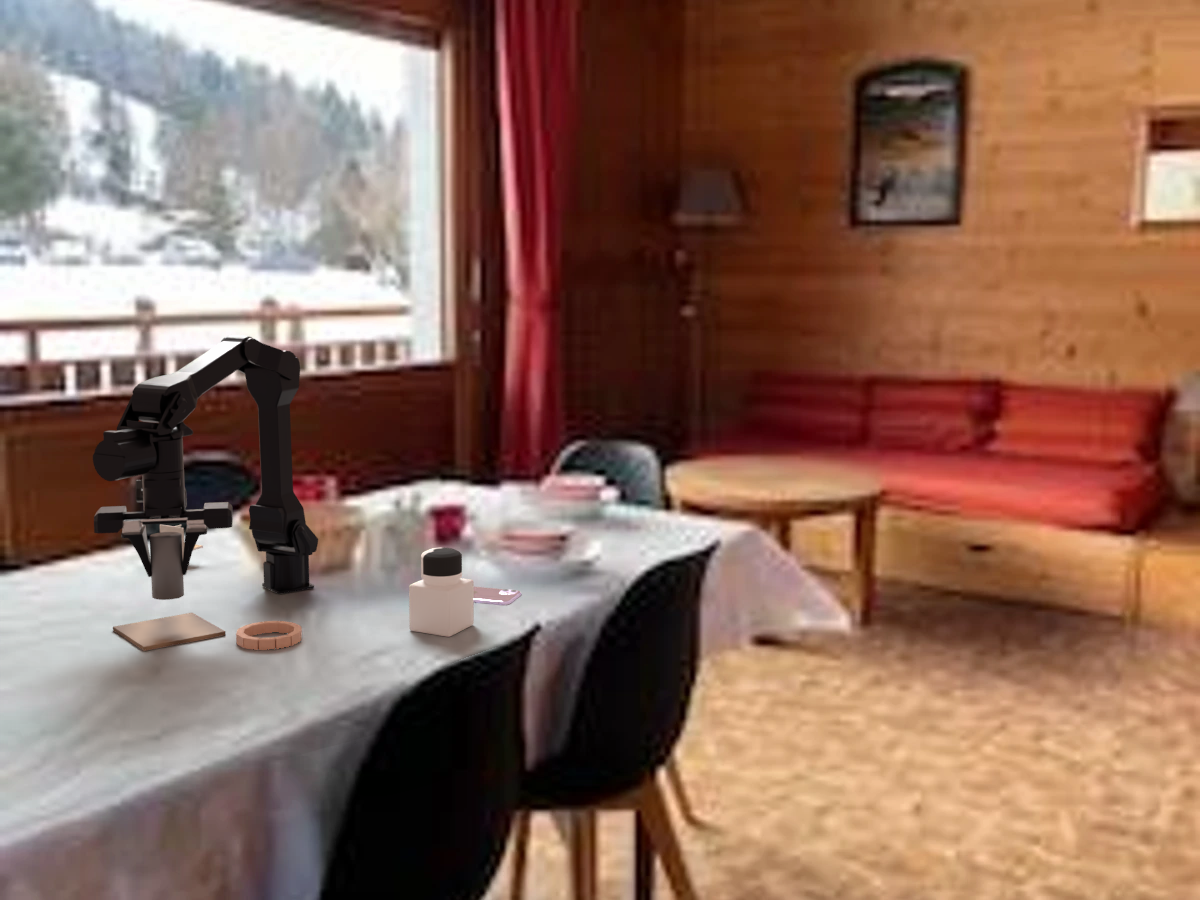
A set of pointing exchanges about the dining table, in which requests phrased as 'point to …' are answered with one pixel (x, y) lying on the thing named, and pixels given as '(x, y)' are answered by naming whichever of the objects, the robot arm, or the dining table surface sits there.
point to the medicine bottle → (441, 595)
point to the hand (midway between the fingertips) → (167, 575)
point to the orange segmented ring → (271, 642)
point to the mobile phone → (495, 595)
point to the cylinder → (166, 565)
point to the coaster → (168, 631)
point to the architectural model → (180, 530)
